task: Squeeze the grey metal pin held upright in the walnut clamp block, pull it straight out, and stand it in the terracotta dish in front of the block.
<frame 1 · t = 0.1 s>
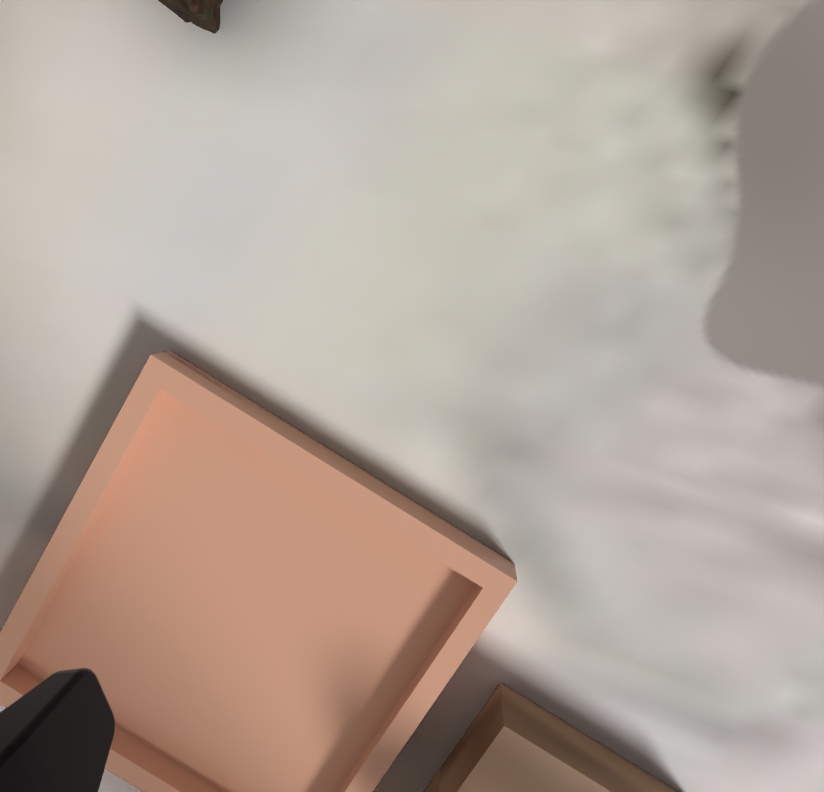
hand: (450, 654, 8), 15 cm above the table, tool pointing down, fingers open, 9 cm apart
terracotta dish: (245, 616, 25), on the table
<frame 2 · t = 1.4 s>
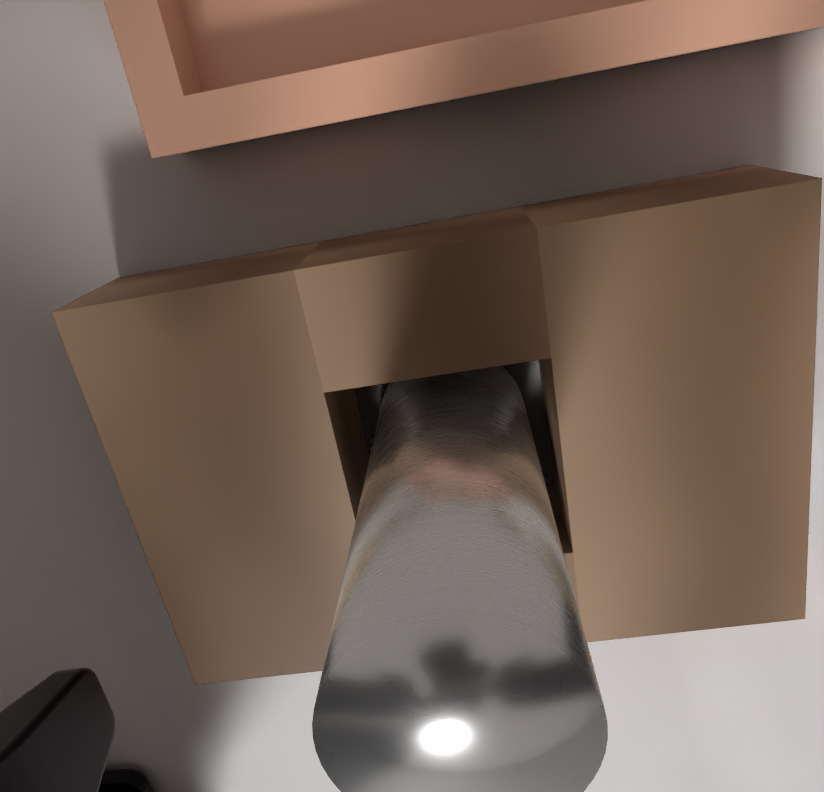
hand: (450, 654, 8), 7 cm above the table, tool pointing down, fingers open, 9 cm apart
metal pin: (454, 522, 11), in the clamp block
clamp block: (452, 417, 14), on the table
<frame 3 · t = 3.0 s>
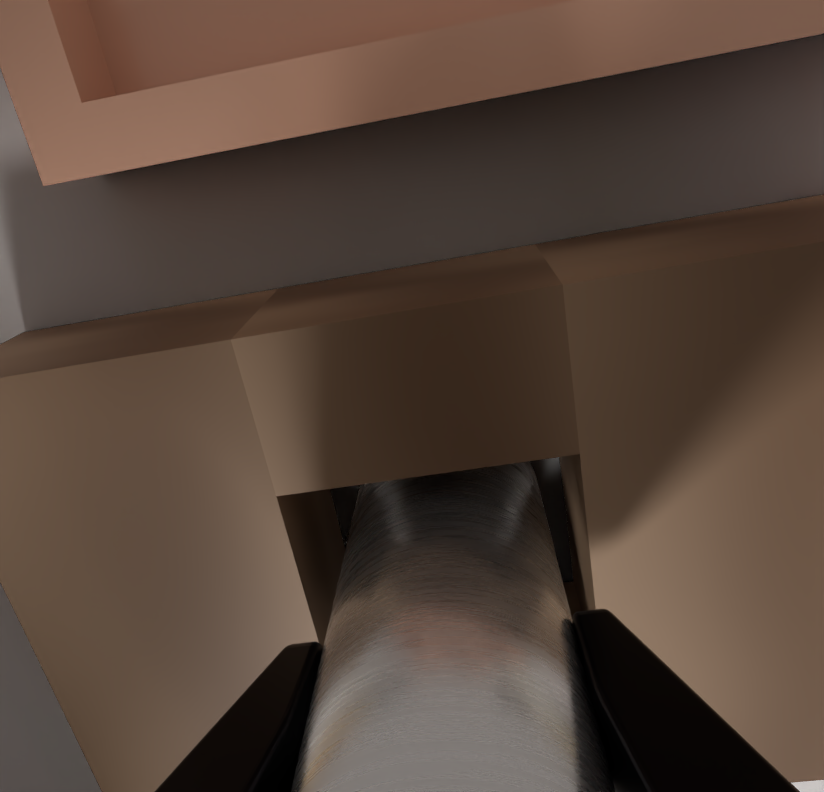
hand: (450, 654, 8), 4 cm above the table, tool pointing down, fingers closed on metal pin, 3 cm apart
metal pin: (450, 683, 8), in the clamp block, touching gripper
clamp block: (447, 502, 12), on the table
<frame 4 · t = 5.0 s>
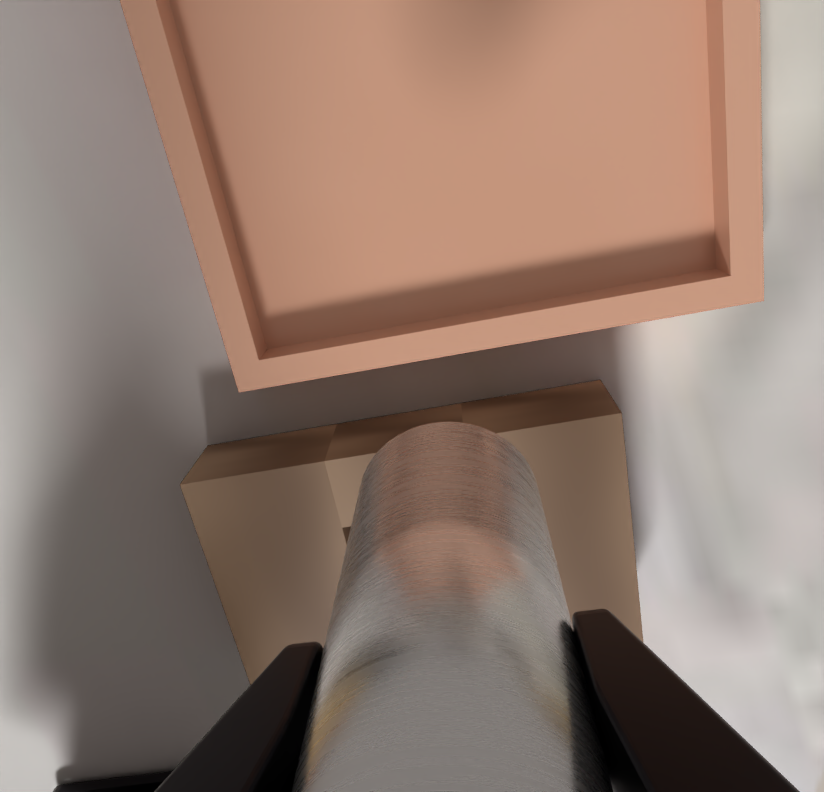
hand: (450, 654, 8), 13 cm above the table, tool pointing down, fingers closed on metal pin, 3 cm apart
terracotta dish: (444, 66, 17), on the table
metal pin: (450, 687, 8), point 13 cm above the table, touching gripper
clamp block: (423, 527, 22), on the table
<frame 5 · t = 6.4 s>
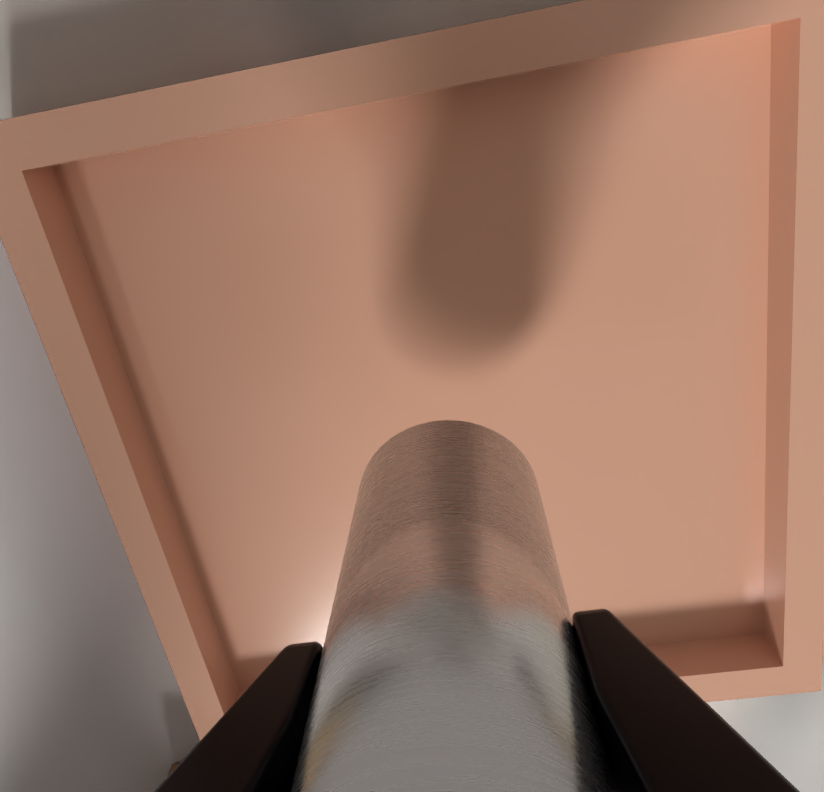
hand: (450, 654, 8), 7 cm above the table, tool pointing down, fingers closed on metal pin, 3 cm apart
terracotta dish: (448, 416, 15), on the table
metal pin: (450, 686, 8), point 7 cm above the table, touching gripper
when the fingers open (5 cm above the table, at t = 7.4 s): metal pin stays where it is, resting on terracotta dish.
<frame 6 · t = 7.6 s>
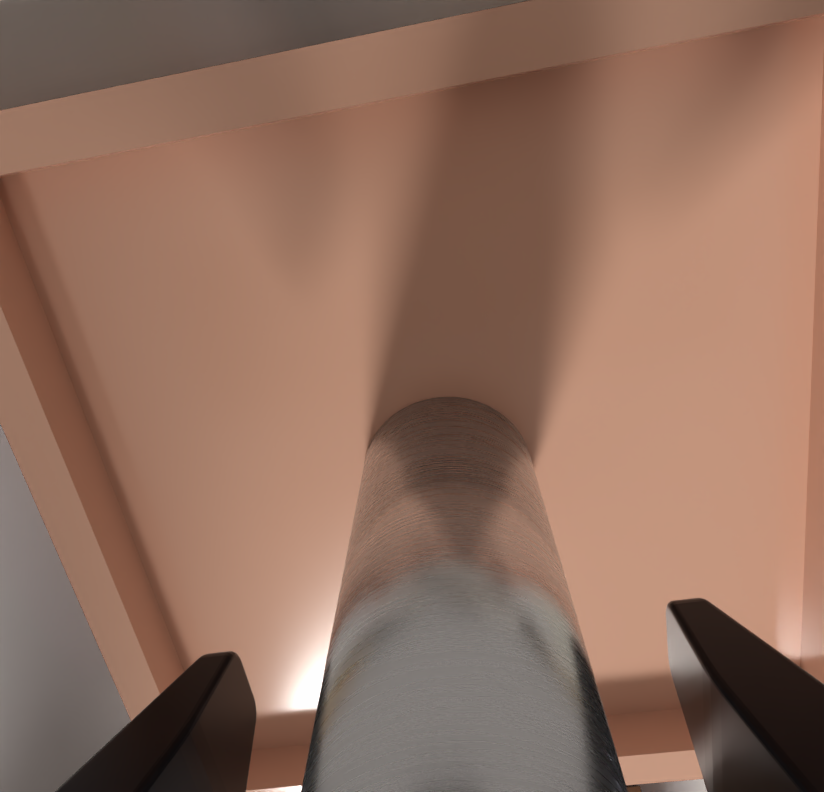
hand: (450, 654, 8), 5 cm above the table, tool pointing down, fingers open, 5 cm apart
terracotta dish: (448, 458, 13), on the table
metal pin: (454, 626, 9), in the terracotta dish
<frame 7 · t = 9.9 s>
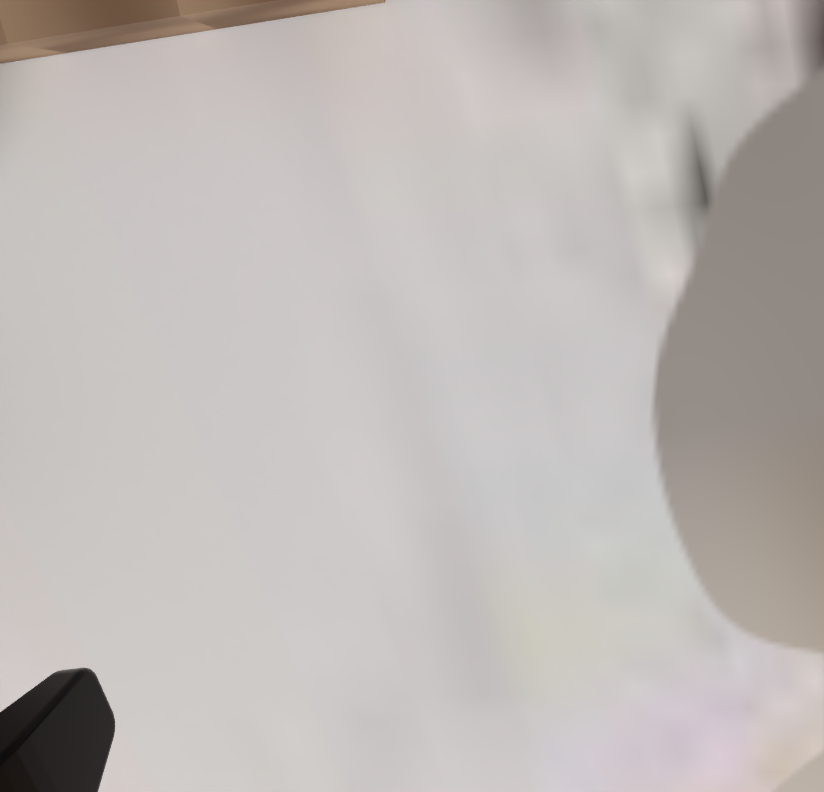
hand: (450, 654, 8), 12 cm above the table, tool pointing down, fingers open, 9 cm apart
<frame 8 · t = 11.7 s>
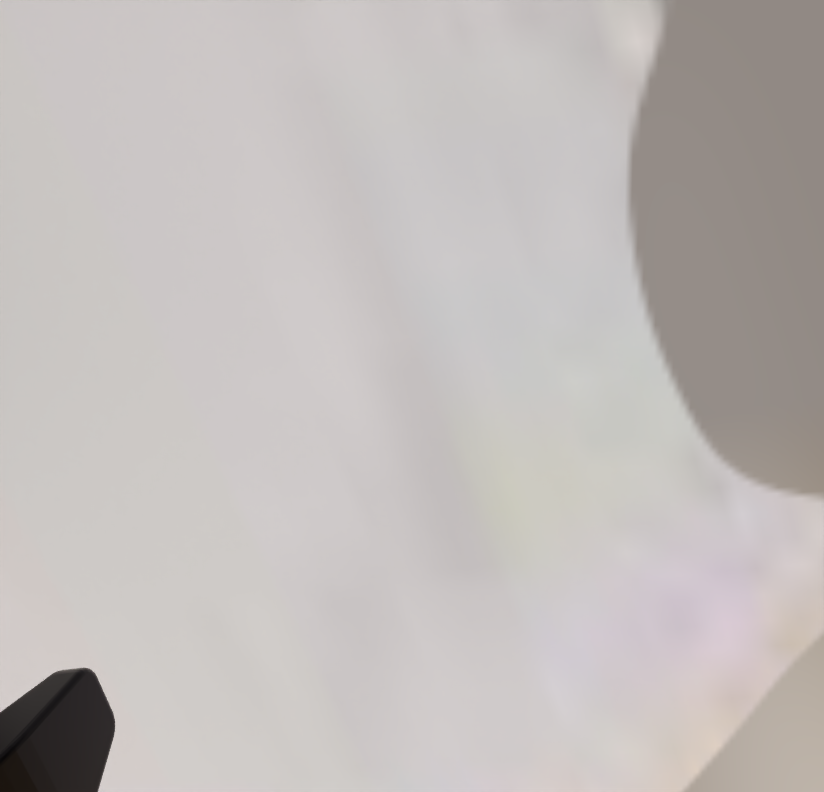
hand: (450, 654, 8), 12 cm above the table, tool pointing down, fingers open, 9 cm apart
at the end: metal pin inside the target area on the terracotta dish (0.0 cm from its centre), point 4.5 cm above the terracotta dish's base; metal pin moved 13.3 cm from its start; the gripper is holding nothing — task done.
